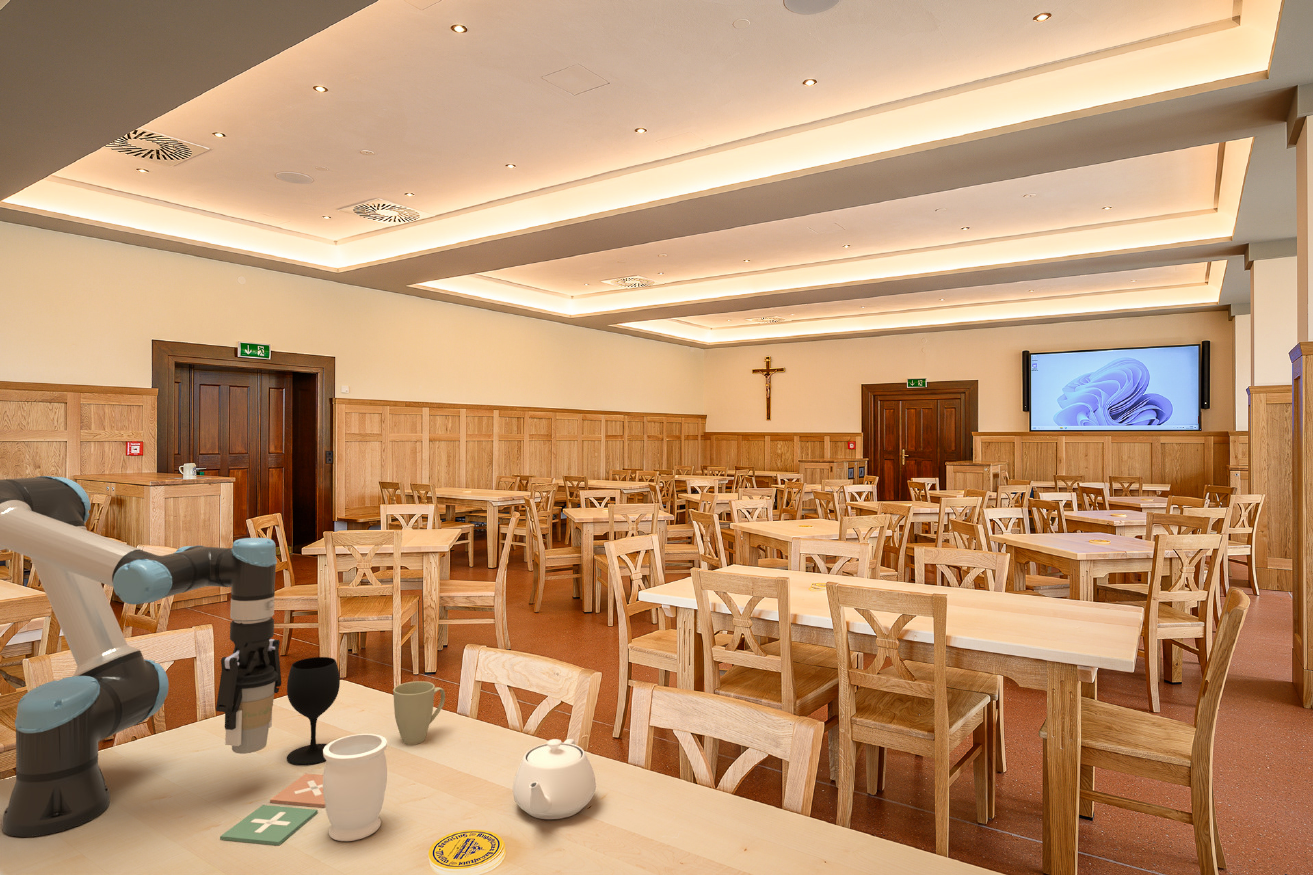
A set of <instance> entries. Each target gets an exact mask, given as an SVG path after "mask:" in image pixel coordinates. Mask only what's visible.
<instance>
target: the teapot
mask: <svg viewBox="0 0 1313 875" xmlns="http://www.w3.org/2000/svg"><path fill="white" fill-rule="evenodd" d="M596 788H597V782H596V776H595V772H594V769H593V767H592V763H591V762H590V760H589V758H588V756H587V754H586V752H585V750H584V749H583V748H582V747H581V746H578V745H576V741H575V739H573V738H566V739H565V740H564V742H562V740H561V739H558V738H553V739H549V740H547V742H546V743H543V744H539V745H535V746H534V747H532V748H530V749H528V750H527V751H526V752H525V753H524V755H523V757H522V759H521V761H520V764H519V765H518V768H517V771H516V773H515V777H514V780H513V785H512V796H513V799H514V801H515V803H516V804H517V806H518V807H519V808H520V809H522V810H523V811H524V812H526V814H528V815H529V816H532V817H533V818H537V819H541V820H558V819H559V820H560V819H565V818H569V817H571V816H574V815H576V814H578V813H579V812H581V811H582V810H583V809H584V808H585V807H586V806H587V805H588V803H590V801H591V800H592V798H594V795H595V792H596Z"/></svg>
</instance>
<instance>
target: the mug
mask: <svg viewBox="0 0 1313 875" xmlns="http://www.w3.org/2000/svg"><path fill="white" fill-rule="evenodd" d="M437 692H440V701H439V704H438V706H437V707H436V709H435V711H434V703H435V702H434V699H435V694H436V693H437ZM392 694H393V707H394V708H393V710H394V718H395V719H394V720H395V722H396V726H397V729H398V733H399V735H400V738H401V742H402V743H403V744H404V745H409V746H410V745H413V746H414V745H418V744H421V743H423V742H424V741H425V739H426V736H427V733H428V730H429V727H430V725H431V724H432V722H433V721H434V720H435V719H436V718H437V716H439V713H440V712H441V710H442V709H443V707H444V704H445V702H446V692H445V690H444V688H442V687H439V686H438V687H437V686H435V684H434V683H433V682H430V681H424V680H423V681H418V680H416V681H409V682H404V683H401V684H398V685H396V686H395V687H394V688H393V690H392Z"/></svg>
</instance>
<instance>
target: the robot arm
mask: <svg viewBox="0 0 1313 875" xmlns="http://www.w3.org/2000/svg"><path fill="white" fill-rule="evenodd" d="M91 509H92V508H91V501H90V498H89V496H88V493H87V492H86V491H85V489H84V488H83V486H81V485H80V484H79V483H78V482H76V481H74V480H72V479H69V478H67V477H63V476H48V475H41V476H39V475H38V476H34V477H22V478H4V479H0V551H4V550H9V551H11V552H14V553H17V554H20V555H23V556H26V557H28V558H30V560H31V563H32V566H33V568H34V569H35V572H36V574H37V576H38V580H39V581H40V584H41V586H42V588H43V591H44V593H45V596H46V597H47V600H48V601H49V604H50V606H51V609H52V611H53V613H54V615H55V618H56V620H57V622H58V625H59V627H60V629H61V632H62V633H63V637H64V639H65V641H66V643H67V645H68V648H69V650H70V652H71V655H72V657H73V659H74V661H75V664H76V670H75V671H74V673H73V675H72V676H69V677H63V678H61V679H58V680H52V681H48V682H45V683H43V684H41V685H39V686H36V687H35V688H33V689H31V690H28V692H26V693H25V694H24V695H23V696H22V697H21V698H20V700H19V701H18V704H17V708H16V718H15V720H14V725H15V761H16V762H15V784H14V786H13V788H12V792H11V795H10V797H9V802H8V805H7V807H6V808H5V809H4V812H3V814H2V831H3V833H4V834H6V835H8V836H11V837H20V838H21V837H22V838H25V837H29V838H31V837H39V836H45V835H51V834H54V833H59V832H63V831H66V830H69V829H72V828H75V827H77V826H81V825H83V824H85V823H87V822H89V821H91V820H93V819H96V818H97V817H98V816H100V815H101V814H103V813H104V812H105V811H107V809H108V807H109V805H110V789H109V786H108V785H106V784H107V783H106V781H105V777H104V775H103V772H102V770H101V768H100V765H99V742H101V741H102V740H105V739H107V738H109V737H110V738H111V737H112V736H113V735H115V734H118V733H120V732H122V731H125V730H126V729H129V728H131V727H134V726H136V725H139V724H141V723H143V722H144V721H146V720H148V718H151V717H152V716H154V715H155V714H156V713H158V712H159V711H160V710H161V708H162V707H163V705H164V704H165V700H166V698H167V697H168V694H169V677H168V675H167V673H166V670H165V668H163V666H162V665H161V664H160V663H158V662H156V661H155V660H151V659H145V658H144V655H143V654H142V651H141V649H140V648H136V647H135V646H134V647H133V646H130V645H129V644H128V643H127V640H126V638H125V636H124V633H123V632H122V629H121V627H120V624H119V622H118V620H117V617H116V615H115V613H114V611H113V608H112V606H111V604H110V601H109V599H108V597H107V595H106V592H105V590H104V588H103V585H102V584H104V585H105V586H106V585H107V586H109V587H112V588H113V591H114V593H115V595H116V596H118V597H119V599H120V601H122V602H123V603H125V604H128V605H141V604H150V603H154V602H157V601H160V600H162V599H165V598H169V597H173V596H176V595H179V594H183V593H187V592H189V591H194V590H198V589H201V588H207V587H219V588H221V587H222V588H230V595H231V596H230V614H229V617H230V619H231V620H232V621H231V622H230V626H229V628H230V629H229V640H230V641H231V642H233V644H234V648H233V651H232V654H230V655H229V656H223V657H221V660H220V664H221V665H220V666H221V672H220V680H219V684H218V685H219V686H218V693H217V700H216V707H215V711H216V712H220V713H221V712H222V713H224V729H225V738H224V739H225V741H224V742H225V743H224V744H225V746H231V747H232V746H239V745H241V731H242V710H239V706H240V703H241V700H242V689H235V687H236V683H241V684H242V683H243V680H242V681H240V682H236V680H237V676H242V677H245V676H247V675H250V674H251V673H252V671H253V668H254V667H259V668H265V667H266V666H268V665H271V666H273V667H274V671H276V672H277V673H278V675H277V676H278V680H276V681H275V686H274V694H278V693H279V692H280V687H281V685H282V676H281V675H282V673H281V665H280V664H281V663H280V661H281V660H280V652H279V650H280V643H281V641H280V639H276V638H275V639H273V637H274V635H275V633H274V632H275V619H274V618H273V616H274V615H275V592H276V590H275V588H276V586H275V585H276V568H277V563H278V560H277V553H276V543H275V540H273V539H271V538H267V537H244V538H239V539H236V540H234V541H233V543H232V547H218V546H217V547H215V546H204V545H191V546H190V545H188V546H187V545H186V546H181V547H179V548H178V549H177V550H176V551H174V552H173V553H169V554H164V555H163V554H162V555H158V554H154V553H151V552H148V551H145V550H143V549H141V548H137V547H135V546H132V545H129V544H126V543H123V542H121V541H118V540H115V539H113V538H109V537H106V536H103V535H100V534H97V533H95V532H92V531H90V530H87V527H86V526H87V525H86V523H87V521H88V519H89V518H90V515H91V514H90V512H89V511H91ZM239 667H240V668H242V669H246V670H242V669H239ZM233 704H234V705H233ZM272 725H273V713H272V714H271V721H270V723H269V729H270V728H272V727H273V726H272Z"/></svg>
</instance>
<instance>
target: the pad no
mask: <svg viewBox="0 0 1313 875" xmlns="http://www.w3.org/2000/svg"><path fill="white" fill-rule="evenodd" d="M269 803H270V804H279V805H289V806H290V805H292V806H301V807H314V808H323V809H325V808H326V807H325V800H324V795H323V774H315V773H305V774H303V775H301V776H299V778H297V779H296V780H295V781H293V782H292V783H290V784H289V785H288V786H286V787H285V788H284V789H282V790H281V791H280V792H279V793H277V794H275V795H274V796H273V797H272V798H270V799H269Z"/></svg>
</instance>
